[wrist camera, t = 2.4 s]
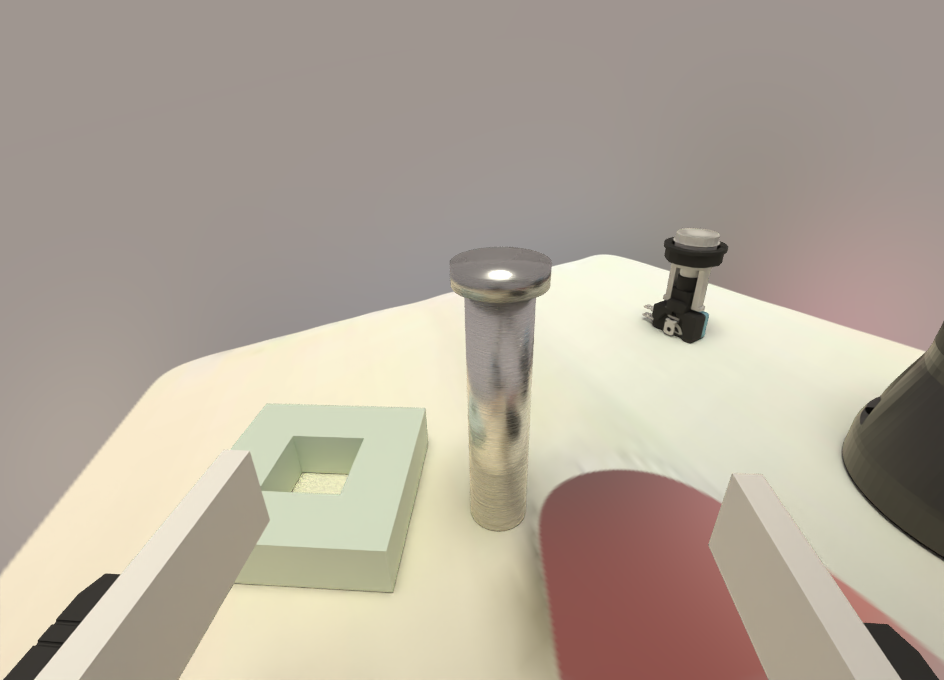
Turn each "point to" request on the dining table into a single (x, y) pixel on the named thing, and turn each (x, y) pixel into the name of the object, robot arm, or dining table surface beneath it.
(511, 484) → the steel pin
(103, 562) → the dining table surface
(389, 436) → the socket block
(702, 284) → the push button
